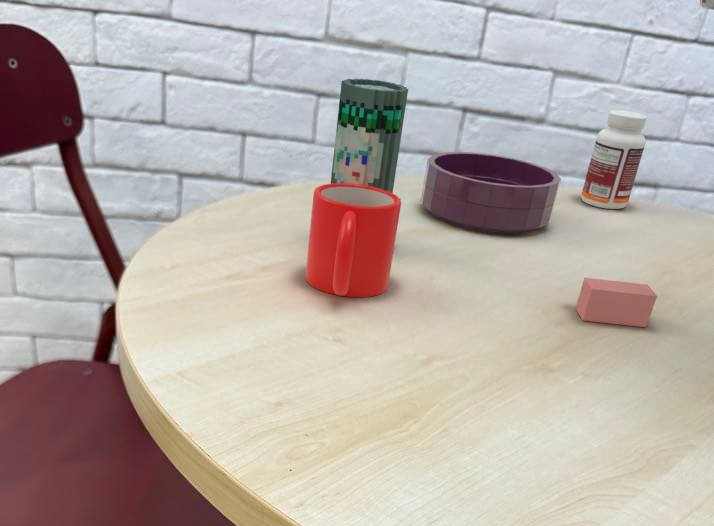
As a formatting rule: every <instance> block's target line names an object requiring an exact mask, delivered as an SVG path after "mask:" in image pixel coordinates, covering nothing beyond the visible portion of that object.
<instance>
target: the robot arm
mask: <svg viewBox="0 0 714 526" xmlns="http://www.w3.org/2000/svg"><path fill="white" fill-rule="evenodd" d="M699 6H700V7H701V8H703V9H707V10H713V11H714V0H699Z"/></svg>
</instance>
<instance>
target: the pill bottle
mask: <svg viewBox="0 0 714 526" xmlns="http://www.w3.org/2000/svg"><path fill="white" fill-rule="evenodd" d="M647 119H648V116H646V115H645V114H642V113H639V112H635V111H630V110H621V109H612V110H610V111H609V113H608V116H607V119H606V124H607V127H606V128H603V129H601V130H600V131H599V132H598V133H597V135H596V139H595V142H594V147H593V150H592V152H591V157H590V161H589V165H588V168H587V172H586V176H585V180H584V184H583V186H582V191H581V196H580V197H581V200H582V202H584V203H586V204H587V205H590V206H593V207H596V208H600V209H607V210H609V209H610V210H621V209H623V208H626V207H627V206H628V204H629V200H630V197H631V194H632V191H633V187H634V184H635V181H636V176H637V174H638V169H639V167H640V163H641V159H642V157H643V155H644V154H643V153H644V149H645V146H646V138H645V135H644V134H642V130H643V129H645V125H646V122H647Z"/></svg>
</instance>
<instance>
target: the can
mask: <svg viewBox="0 0 714 526" xmlns="http://www.w3.org/2000/svg"><path fill="white" fill-rule="evenodd" d="M339 94H340V95H339V101H338V102H339V103H338V110H337V111H338V112H337V120H336V129H335V140H334V146H333V147H334V148H333V149H334V150H333V157H332V166H331V175H330V176H331V177H330V184H333V183H350V184H360V185H367V186H372V187H376V188H380V189H383V190H386V191H389V192H391V193H393V194H394V187H395V181H396V180H395V178H396V173H397V167H398V159H399V154H400V153H399V152H400V148H401V147H400V146H401V140H402V133H403V126H404V121H405V113H406V107H407V102H408V101H407V100H408V94H409V88H408V87H407V86H405V85H402V84H399V83H395V82H391V81H384V80H380V79H369V78H347V79H343V80H341V84H340V93H339Z"/></svg>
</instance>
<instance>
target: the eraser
mask: <svg viewBox="0 0 714 526" xmlns="http://www.w3.org/2000/svg"><path fill="white" fill-rule="evenodd" d="M657 298H658V295H657V294H656V293H655V291H654V290H653V289H652V288H651V286H650V285H649V284H646V283H637V282H627V281H619V280H611V279H610V280H609V279H599V278H592V277H584V278H583V281H582V284H581V288H580V292H579V295H578V299H577V302H576V306H575V310H576V312H577V314H578V315H579V317H580V319H581V320H582V322H583V321H584V322H593V323H602V324H612V325H620V326H630V327H639V328H647V326H648V323H649V320H650V318H651V315H652V312H653V309H654V306H655V304H656V301H657Z"/></svg>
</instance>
